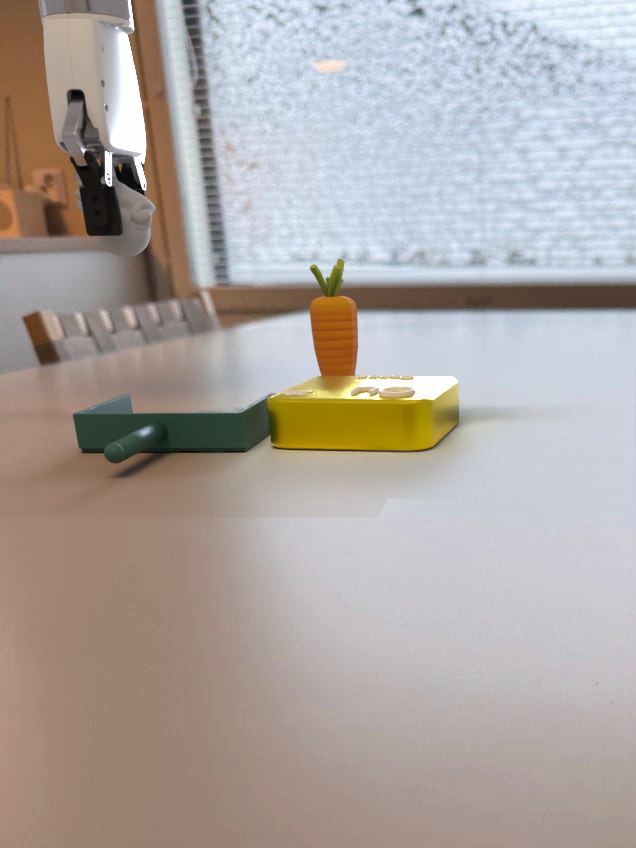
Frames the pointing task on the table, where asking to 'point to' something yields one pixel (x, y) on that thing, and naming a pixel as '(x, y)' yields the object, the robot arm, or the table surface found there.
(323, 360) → the carrot
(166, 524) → the table surface
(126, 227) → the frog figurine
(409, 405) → the element tile
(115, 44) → the robot arm
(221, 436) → the scoop
